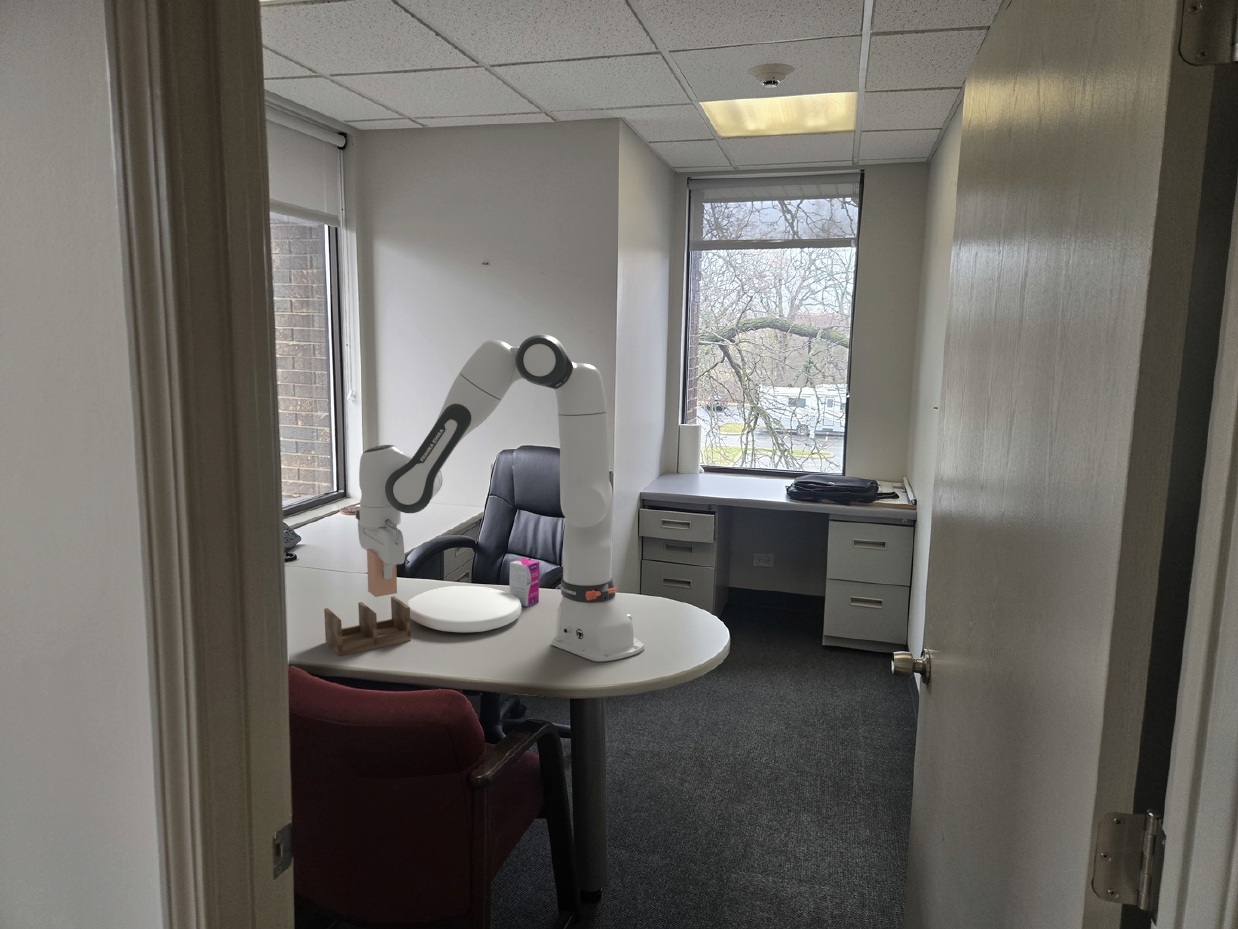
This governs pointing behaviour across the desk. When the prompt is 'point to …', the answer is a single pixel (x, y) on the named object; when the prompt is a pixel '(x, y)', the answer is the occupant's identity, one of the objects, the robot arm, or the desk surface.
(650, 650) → the desk surface
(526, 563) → the supplement box
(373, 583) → the terracotta block
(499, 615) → the plate
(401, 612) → the desk organiser
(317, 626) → the desk surface
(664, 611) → the desk surface
